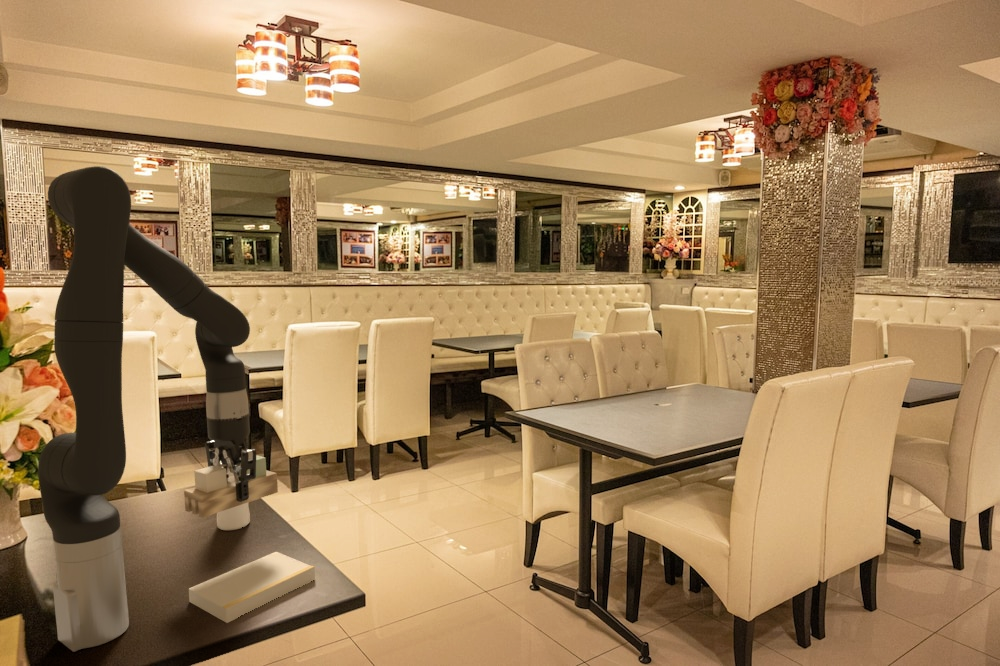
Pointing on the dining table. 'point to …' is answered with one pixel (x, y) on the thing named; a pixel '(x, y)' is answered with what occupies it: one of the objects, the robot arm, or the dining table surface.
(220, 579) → the dock
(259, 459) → the block
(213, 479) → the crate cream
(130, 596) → the dining table surface
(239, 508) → the water bottle
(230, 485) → the pallet
